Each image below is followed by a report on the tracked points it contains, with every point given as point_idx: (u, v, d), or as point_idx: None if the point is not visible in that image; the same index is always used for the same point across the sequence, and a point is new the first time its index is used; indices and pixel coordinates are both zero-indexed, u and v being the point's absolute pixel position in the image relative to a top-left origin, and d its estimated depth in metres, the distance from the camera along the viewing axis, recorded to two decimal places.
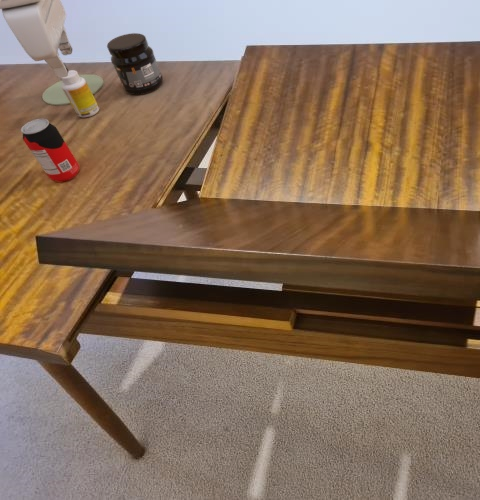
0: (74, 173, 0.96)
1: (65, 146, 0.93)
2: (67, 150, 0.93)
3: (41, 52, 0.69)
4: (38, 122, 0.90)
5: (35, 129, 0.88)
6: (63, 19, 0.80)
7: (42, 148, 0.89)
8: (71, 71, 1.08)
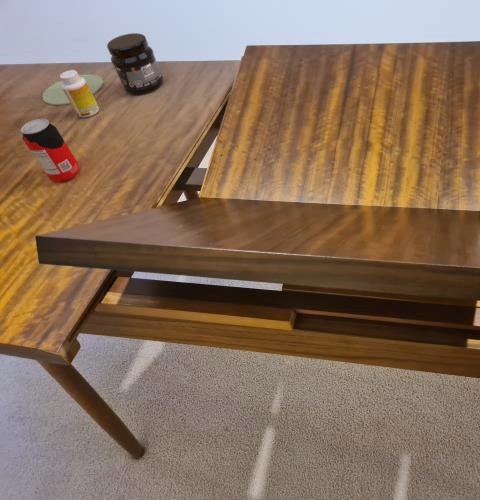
0: (74, 173, 0.96)
1: (65, 146, 0.93)
2: (67, 150, 0.93)
3: None
4: (38, 122, 0.90)
5: (35, 129, 0.88)
6: None
7: (42, 148, 0.89)
8: (71, 71, 1.08)
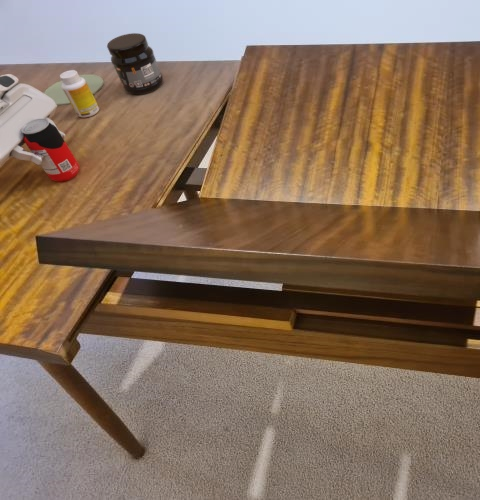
0: (74, 173, 0.96)
1: (65, 146, 0.93)
2: (67, 150, 0.93)
3: None
4: (38, 122, 0.90)
5: (35, 129, 0.88)
6: None
7: (42, 148, 0.89)
8: (71, 71, 1.08)
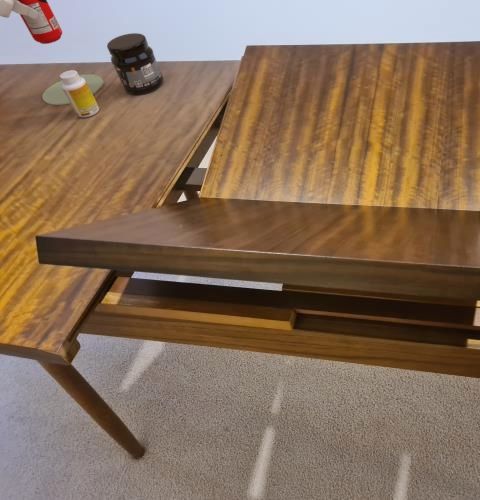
0: (61, 32, 1.05)
1: None
2: (50, 9, 1.02)
3: None
4: None
5: None
6: None
7: (35, 1, 0.97)
8: (71, 71, 1.08)
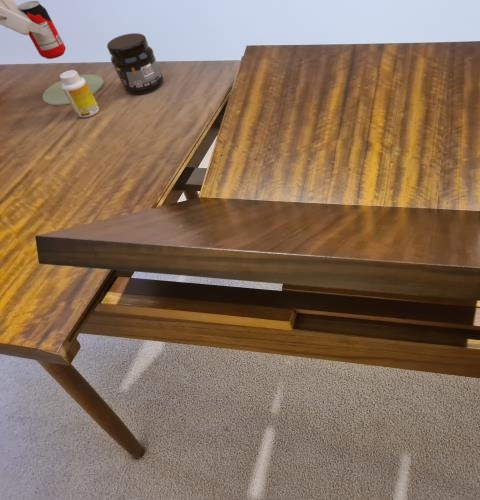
0: None
1: None
2: None
3: None
4: (26, 4, 1.09)
5: (32, 5, 1.08)
6: None
7: (44, 20, 1.09)
8: (71, 71, 1.08)
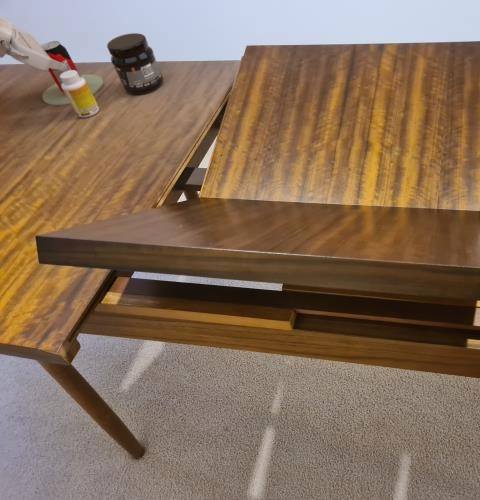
0: None
1: None
2: None
3: None
4: (47, 44, 1.15)
5: (53, 45, 1.14)
6: None
7: (64, 59, 1.16)
8: (71, 71, 1.08)
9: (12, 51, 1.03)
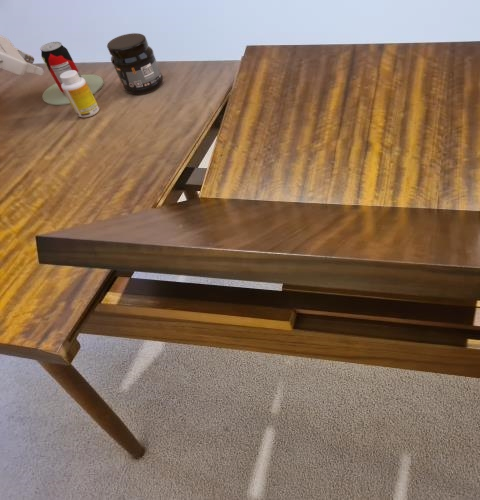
0: None
1: None
2: None
3: None
4: (49, 45, 1.15)
5: (55, 46, 1.14)
6: None
7: (65, 60, 1.16)
8: (71, 71, 1.08)
9: None
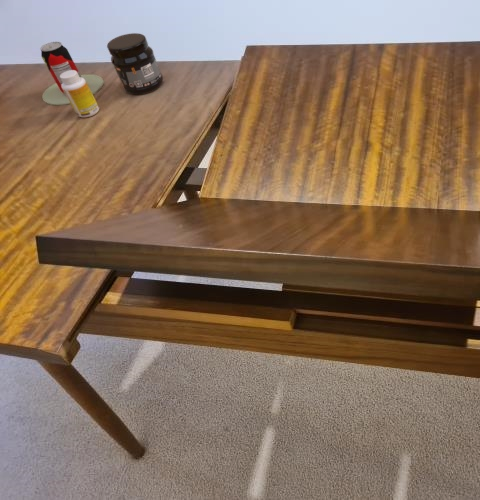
0: None
1: None
2: None
3: None
4: (49, 45, 1.15)
5: (55, 46, 1.14)
6: None
7: (65, 60, 1.16)
8: (71, 71, 1.08)
9: None
